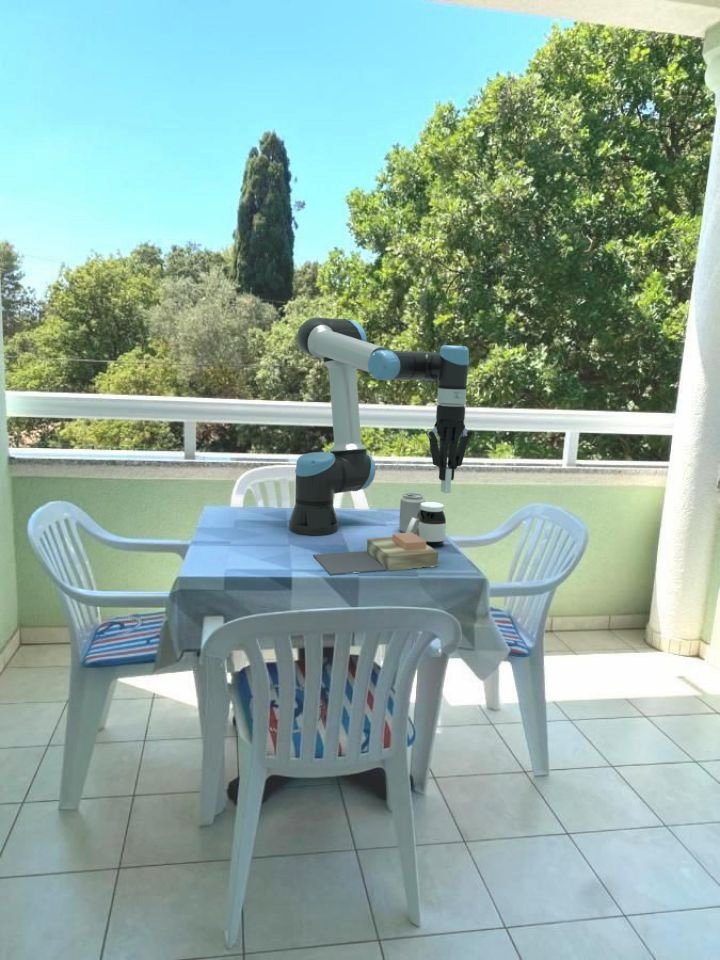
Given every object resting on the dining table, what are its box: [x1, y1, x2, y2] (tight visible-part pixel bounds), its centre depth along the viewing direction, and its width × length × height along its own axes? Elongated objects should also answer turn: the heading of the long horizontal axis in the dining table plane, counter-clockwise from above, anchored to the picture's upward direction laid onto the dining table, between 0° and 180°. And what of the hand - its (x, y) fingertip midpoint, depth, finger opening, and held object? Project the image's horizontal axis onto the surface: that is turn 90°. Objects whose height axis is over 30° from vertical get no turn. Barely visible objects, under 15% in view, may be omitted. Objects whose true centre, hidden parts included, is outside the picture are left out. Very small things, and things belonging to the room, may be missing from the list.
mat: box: [312, 550, 388, 576], centre depth 177 cm, size 16×15×1 cm
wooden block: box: [366, 536, 439, 572], centre depth 182 cm, size 16×14×4 cm
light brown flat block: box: [391, 532, 426, 550], centre depth 182 cm, size 9×6×2 cm, turn 20°
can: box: [398, 492, 426, 534], centre depth 209 cm, size 8×8×12 cm
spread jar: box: [406, 501, 447, 547], centre depth 199 cm, size 12×11×12 cm
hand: (445, 491), depth 183 cm, fingers closed
